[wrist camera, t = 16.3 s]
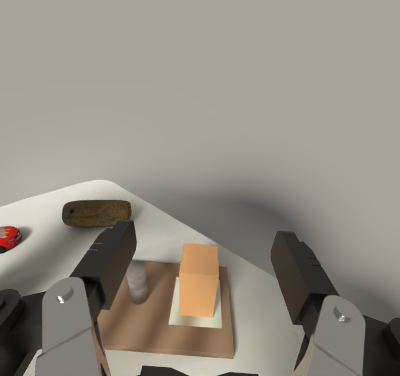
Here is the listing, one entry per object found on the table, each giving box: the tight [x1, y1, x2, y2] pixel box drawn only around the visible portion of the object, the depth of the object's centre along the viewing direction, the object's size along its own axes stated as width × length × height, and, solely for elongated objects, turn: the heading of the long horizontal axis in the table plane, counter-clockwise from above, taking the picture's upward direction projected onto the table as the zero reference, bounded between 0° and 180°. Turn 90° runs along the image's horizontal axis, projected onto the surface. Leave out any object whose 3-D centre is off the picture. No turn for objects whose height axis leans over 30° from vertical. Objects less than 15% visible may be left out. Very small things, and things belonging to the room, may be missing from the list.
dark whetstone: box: [62, 200, 131, 227], centre depth 49 cm, size 15×7×7 cm, turn 103°
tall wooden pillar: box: [179, 244, 219, 318], centre depth 30 cm, size 5×5×10 cm
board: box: [97, 260, 234, 359], centre depth 31 cm, size 22×14×8 cm, turn 87°
